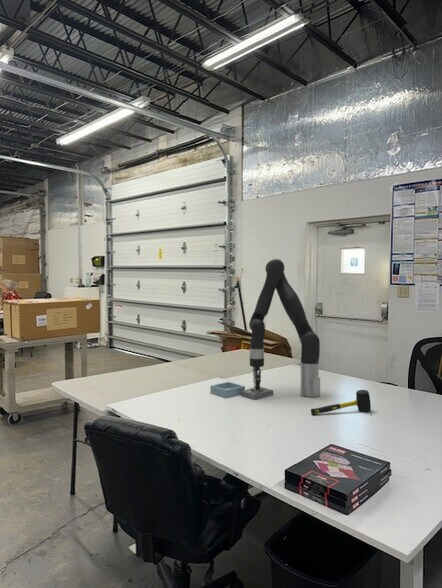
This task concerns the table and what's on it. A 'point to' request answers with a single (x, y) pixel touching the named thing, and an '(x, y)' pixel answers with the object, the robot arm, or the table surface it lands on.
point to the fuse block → (254, 395)
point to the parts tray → (227, 389)
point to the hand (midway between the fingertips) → (256, 387)
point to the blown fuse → (254, 386)
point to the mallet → (349, 404)
